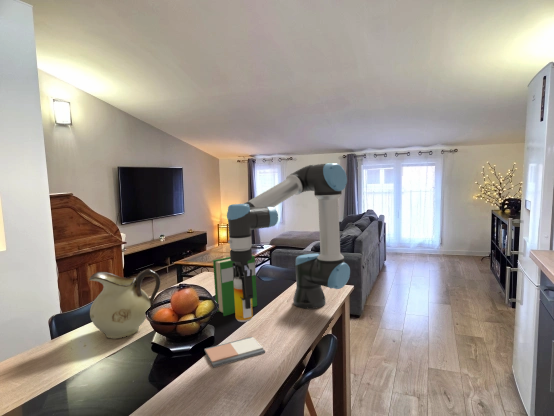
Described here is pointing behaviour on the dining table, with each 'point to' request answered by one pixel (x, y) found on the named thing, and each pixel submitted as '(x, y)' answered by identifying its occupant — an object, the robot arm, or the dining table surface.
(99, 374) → the dining table surface
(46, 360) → the dining table surface
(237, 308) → the yellow bottle
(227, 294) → the hardback book
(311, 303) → the robot arm
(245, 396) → the dining table surface
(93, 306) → the pitcher
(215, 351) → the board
